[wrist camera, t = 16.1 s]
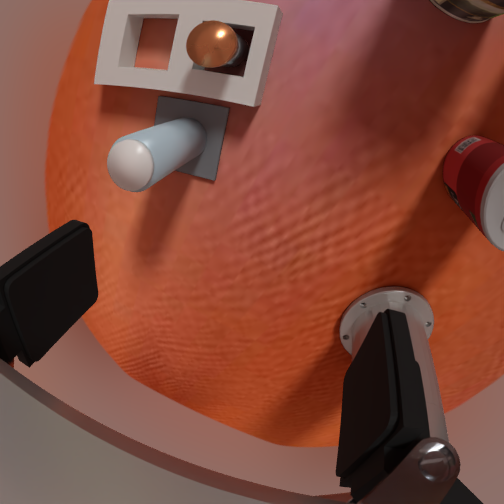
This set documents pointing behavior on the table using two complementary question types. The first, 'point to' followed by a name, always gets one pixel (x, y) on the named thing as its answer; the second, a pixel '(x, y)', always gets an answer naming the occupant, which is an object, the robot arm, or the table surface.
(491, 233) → the canned food
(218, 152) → the mat
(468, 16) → the coffee can
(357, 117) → the table surface
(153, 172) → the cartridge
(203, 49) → the plunger
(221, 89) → the housing
